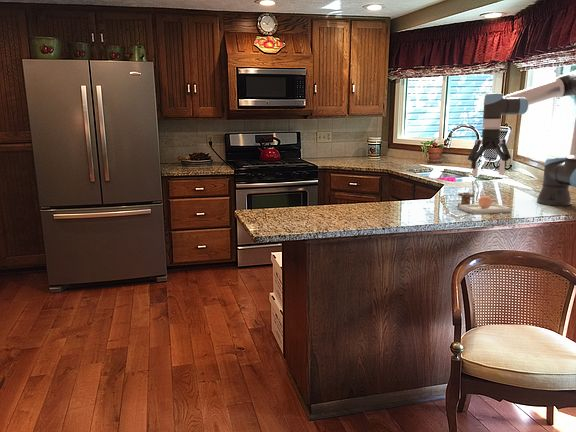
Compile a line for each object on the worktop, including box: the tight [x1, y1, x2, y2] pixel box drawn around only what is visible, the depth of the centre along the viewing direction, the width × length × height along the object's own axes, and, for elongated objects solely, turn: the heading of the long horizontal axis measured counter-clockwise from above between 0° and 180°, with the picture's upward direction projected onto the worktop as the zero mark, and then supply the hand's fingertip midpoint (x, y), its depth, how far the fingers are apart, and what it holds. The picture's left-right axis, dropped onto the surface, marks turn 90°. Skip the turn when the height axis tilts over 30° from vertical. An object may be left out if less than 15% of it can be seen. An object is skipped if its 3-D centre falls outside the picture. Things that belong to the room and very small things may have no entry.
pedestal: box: [457, 192, 475, 207], centre depth 239 cm, size 7×7×6 cm
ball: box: [477, 195, 493, 209], centre depth 228 cm, size 6×6×6 cm
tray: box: [458, 202, 512, 215], centre depth 229 cm, size 19×12×2 cm, turn 101°
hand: (488, 175), depth 226 cm, fingers open, 13 cm apart
